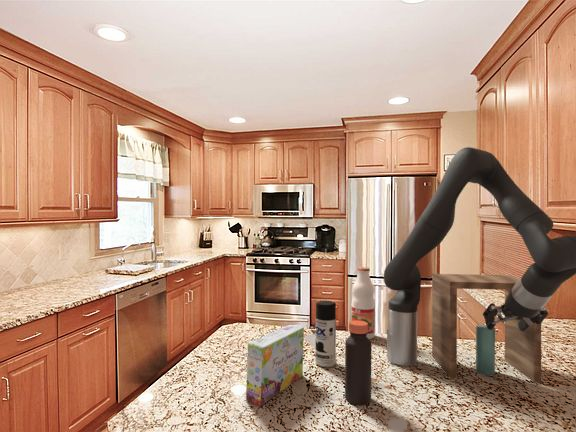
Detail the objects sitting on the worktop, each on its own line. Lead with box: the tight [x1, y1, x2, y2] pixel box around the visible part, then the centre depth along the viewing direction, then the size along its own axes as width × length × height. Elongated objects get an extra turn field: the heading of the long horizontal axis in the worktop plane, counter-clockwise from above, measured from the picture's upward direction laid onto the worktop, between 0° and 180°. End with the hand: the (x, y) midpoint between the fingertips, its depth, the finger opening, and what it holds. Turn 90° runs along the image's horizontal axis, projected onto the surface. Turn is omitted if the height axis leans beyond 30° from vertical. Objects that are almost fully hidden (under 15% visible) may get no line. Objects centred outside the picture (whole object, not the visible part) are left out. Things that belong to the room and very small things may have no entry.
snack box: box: [245, 324, 305, 407], centre depth 97 cm, size 21×6×15 cm, turn 148°
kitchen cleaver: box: [304, 325, 316, 350], centre depth 139 cm, size 24×1×10 cm
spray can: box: [314, 300, 337, 368], centre depth 114 cm, size 7×7×20 cm
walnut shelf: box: [431, 273, 542, 384], centre depth 111 cm, size 26×16×29 cm, turn 85°
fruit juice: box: [351, 266, 376, 340], centre depth 142 cm, size 9×9×28 cm
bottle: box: [344, 320, 373, 406], centre depth 91 cm, size 7×7×20 cm
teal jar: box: [475, 324, 496, 376], centre depth 109 cm, size 5×5×14 cm
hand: (504, 327), depth 98 cm, fingers open, 8 cm apart
